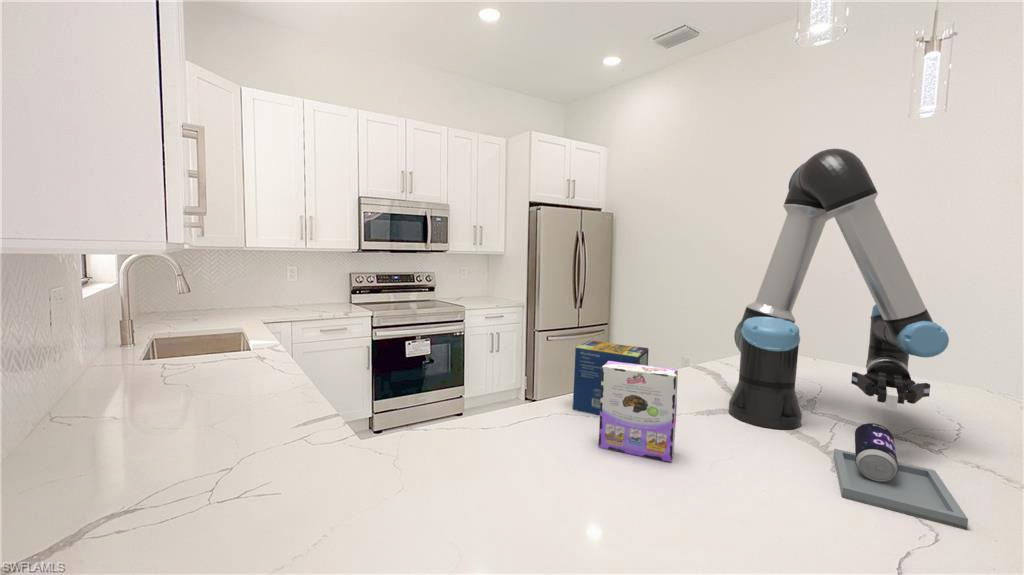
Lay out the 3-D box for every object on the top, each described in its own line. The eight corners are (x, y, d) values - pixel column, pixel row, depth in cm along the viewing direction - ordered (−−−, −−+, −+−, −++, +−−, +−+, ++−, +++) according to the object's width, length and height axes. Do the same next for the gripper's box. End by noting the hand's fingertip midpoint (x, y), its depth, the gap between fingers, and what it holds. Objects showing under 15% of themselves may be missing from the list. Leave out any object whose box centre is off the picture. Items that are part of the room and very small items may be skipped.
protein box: (586, 398, 116) (589, 339, 115) (646, 410, 108) (649, 347, 107) (571, 409, 107) (574, 346, 106) (634, 423, 99) (638, 356, 98)
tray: (842, 497, 71) (842, 487, 71) (833, 456, 85) (834, 448, 85) (966, 529, 63) (968, 519, 63) (933, 478, 78) (934, 470, 78)
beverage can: (892, 452, 82) (898, 488, 73) (854, 445, 86) (854, 478, 77) (893, 424, 81) (899, 456, 72) (855, 418, 85) (855, 448, 76)
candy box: (674, 451, 86) (679, 368, 84) (671, 463, 80) (677, 375, 79) (604, 436, 91) (607, 358, 90) (597, 447, 86) (601, 365, 85)
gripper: (925, 399, 95) (938, 432, 77) (850, 386, 104) (845, 413, 85) (929, 365, 95) (943, 390, 76) (853, 355, 103) (849, 375, 85)
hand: (892, 402), depth 81 cm, fingers closed
